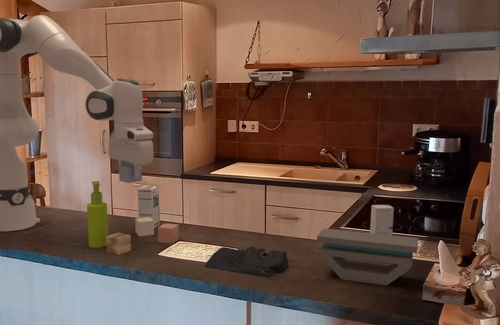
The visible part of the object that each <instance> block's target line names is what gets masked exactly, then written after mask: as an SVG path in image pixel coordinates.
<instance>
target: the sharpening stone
mask: <svg viewBox="0 0 500 325" xmlns="http://www.w3.org/2000/svg"><path fill="white" fill-rule="evenodd" d="M316 242H317V243H324V244H323V245H322V246H321V248H320V258H321V259H322V260H323V261H324V262H325V263H326V264H327V266H329V268H331V270H332V271H333V272H334V273H335V274H336V275H337V276H338V277H339V278H340V279H341V280H344V281H352V282H357V283H358V282H360V283H366V284H374V285H381V286H388V285H390V284H391V283H392V282H394V281H395V280H397V279H398V278H400V277H401V276H403V275H404V274H405V273H407V272H408V271H410V270H411V269H412V265H413V259H414V254H418V248H419V238H418V237H411V236H410V237H408V236H401V235H400V236H399V235H393V234H392V235H382V234H372V233H370V232H362V231H361V232H360V231H351V230H343V229H342V230H341V229H334V228H333V229H332V228H322V229H321V231H320V232H318V234H317V236H316Z"/></svg>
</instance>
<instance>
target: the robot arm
mask: <svg viewBox="0 0 500 325" xmlns="http://www.w3.org/2000/svg"><path fill="white" fill-rule="evenodd" d="M35 55H39V56H40V57H41V58H42V60H43V61H44V63H45V64H46V65H49V67H51V68H52V69H53V70H54V71H57V72H59V73H64V74H67V75H72V76H75V77H77V78H81V79H83V80H85V81H86V82H88V83H89V84H90V85H91V86H92V87H94V91H90V93H89V94H88V95H87V96H86V99H85V110H86V112H87V114H88V116H89V117H90V118H91V119H93V120H95V121H101V122H102V121H113V123H114V124H113V126H114V127H113V128H114V130H113V131H112V132H111V133H110V137H109V138H108V139H109V140H108V157H109V159H112V160H117V161H118V166H119V165H124V164H128V163H130V164H132V163H133V164H134V167H135V169H134V171H132V174H133V177H140V170H141V168H143V166H145V165H151V164H153V161H154V142H153V140H152V139H154V132H153V131H151V130H150V129H148V128H147V127H146V126H145V125H144V118H143V110H144V101H143V98H144V97H143V90H142V87H141V84H140V83H139V82H138V81H136V80H133V79H130V78H129V79H128V78H127V79H126V78H116V79H113V78H112V77H111V76H110V74H108V73H107V72H106V71H105V70H104V69H103V68H102V67H101V66H100V65H99V64H98V63H97V62H96V61H95V60H94V59H92V58H91V57H90V56H89V55H88V54H87V53H86V52H85V51H84V50H83V49H82V48H80V46H79V45H78V44H77V43H76V42H75V40H73V39H72V38H71V37H70V35H69V34H68V33H67V32H66V31H65V30H64V29H63V28H62V27H61V26H60V24H58V23H57V22H55V21H54V20H53V19H52V18H50V17H49V16H47V15H43V14H39V15H34V16H33V17H31V18H30V19H29V20H26V19H25V20H24V19H19V18H16V19H15V18H5V17H0V232H13V231H14V232H15V231H21V230H26V229H29V228H31V227H33V226H35V225H36V224H37V223H40V222H41V218H39V217H37V212H36V205H35V200H34V199H33V198H31V197H30V195H31V193H30V192H31V188H30V186H29V185H28V184H29V181H28V167H27V166H28V165H27V164H26V162H25V161H24V160H22V159H20V156H19V155H18V152H17V150H16V147H22V146H25V145H29V144H30V143H32V142H34V141H35V140H36V139H37V137H38V135H39V132H40V131H39V130H40V129H39V125H38V122H36V120H35V119H34V118H33V117H32V116H31V115H30V114H29V112H28V108H26V104H25V102H24V98H23V93H22V91H23V90H22V84H21V71H20V60H21V58H22V57H25V58H31V57H33V56H35Z"/></svg>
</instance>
